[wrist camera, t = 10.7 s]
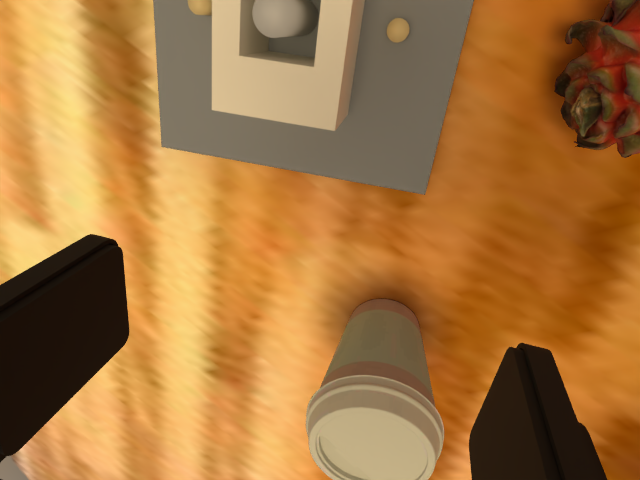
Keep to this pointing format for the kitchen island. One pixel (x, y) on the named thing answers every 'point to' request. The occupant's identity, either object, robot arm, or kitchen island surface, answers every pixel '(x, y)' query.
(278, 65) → the flange block
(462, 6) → the pin plate
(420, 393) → the coffee cup
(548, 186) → the kitchen island surface
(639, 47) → the dragon fruit
